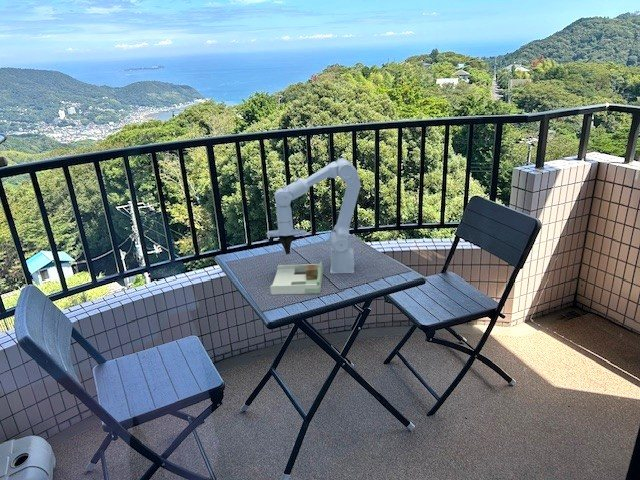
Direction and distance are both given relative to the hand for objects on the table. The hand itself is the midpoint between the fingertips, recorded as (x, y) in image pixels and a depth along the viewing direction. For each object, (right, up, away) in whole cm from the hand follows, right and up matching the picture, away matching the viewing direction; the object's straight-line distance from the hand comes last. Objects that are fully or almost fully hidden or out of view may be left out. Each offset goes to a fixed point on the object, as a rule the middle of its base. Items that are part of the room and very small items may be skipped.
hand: (288, 253), depth 172 cm
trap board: (+4, -11, -3) cm, 12 cm away
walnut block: (+9, -9, -4) cm, 14 cm away
